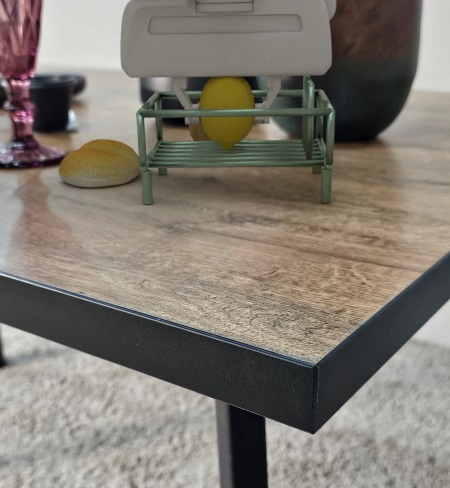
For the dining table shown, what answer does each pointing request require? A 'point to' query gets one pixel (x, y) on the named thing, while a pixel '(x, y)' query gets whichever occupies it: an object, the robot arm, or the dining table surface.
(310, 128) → the dish rack
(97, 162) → the bread roll
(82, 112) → the dining table surface
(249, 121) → the lemon
